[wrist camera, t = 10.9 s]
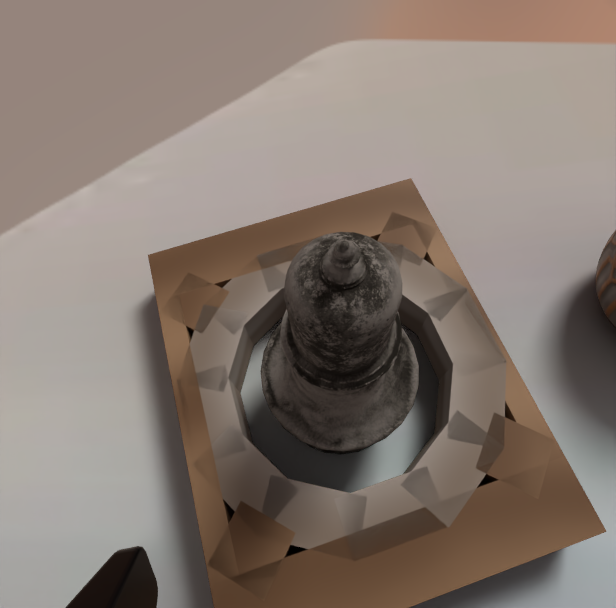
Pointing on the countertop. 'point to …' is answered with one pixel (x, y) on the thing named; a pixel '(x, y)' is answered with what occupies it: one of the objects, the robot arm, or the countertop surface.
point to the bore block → (382, 496)
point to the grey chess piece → (341, 347)
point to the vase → (607, 279)
